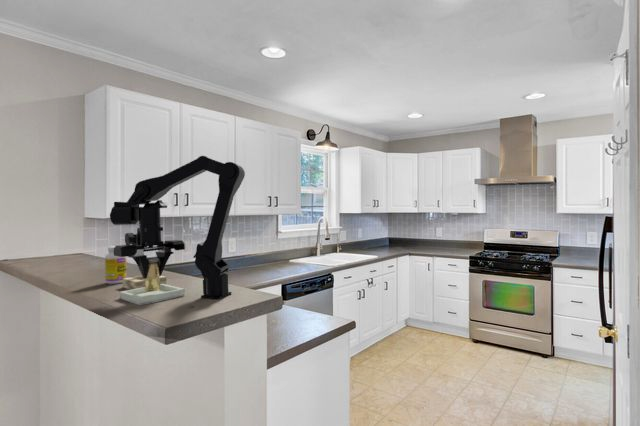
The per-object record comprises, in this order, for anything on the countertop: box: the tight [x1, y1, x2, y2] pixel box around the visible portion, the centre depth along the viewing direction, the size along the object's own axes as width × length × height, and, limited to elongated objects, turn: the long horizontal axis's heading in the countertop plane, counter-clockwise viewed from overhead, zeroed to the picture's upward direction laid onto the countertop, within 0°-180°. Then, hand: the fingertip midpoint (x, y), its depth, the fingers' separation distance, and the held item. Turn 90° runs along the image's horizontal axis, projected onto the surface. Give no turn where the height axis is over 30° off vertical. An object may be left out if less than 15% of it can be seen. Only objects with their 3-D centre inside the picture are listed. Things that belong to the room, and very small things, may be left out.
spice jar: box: [145, 256, 160, 292], centre depth 110 cm, size 5×5×10 cm
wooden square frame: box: [122, 274, 168, 290], centre depth 126 cm, size 10×10×3 cm
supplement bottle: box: [104, 245, 128, 285], centre depth 134 cm, size 7×7×13 cm
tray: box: [119, 284, 186, 306], centre depth 111 cm, size 13×13×2 cm
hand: (152, 277), depth 110 cm, fingers closed on spice jar, 4 cm apart
